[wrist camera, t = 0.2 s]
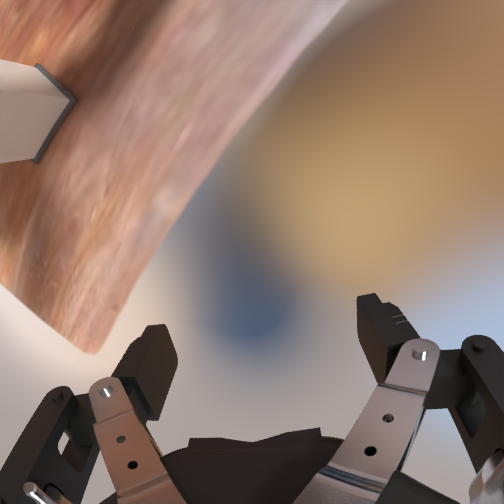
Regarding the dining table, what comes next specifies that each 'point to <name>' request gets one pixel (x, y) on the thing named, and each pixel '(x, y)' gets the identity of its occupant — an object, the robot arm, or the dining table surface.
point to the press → (29, 110)
